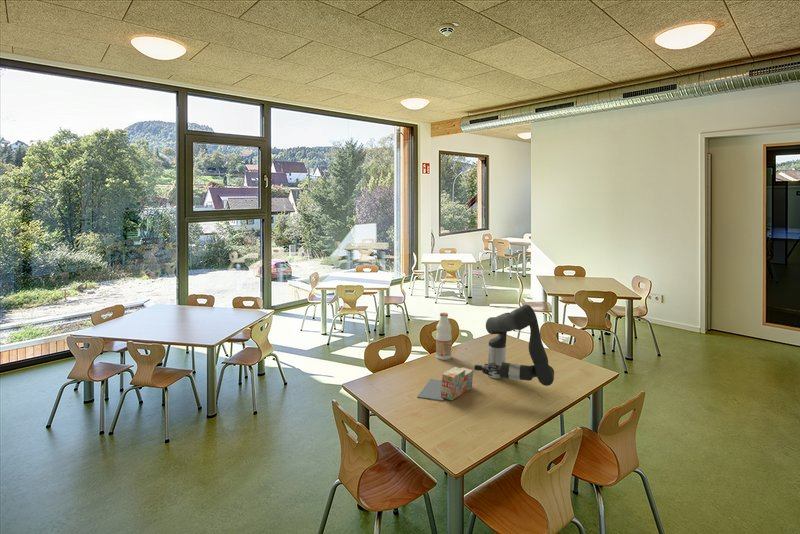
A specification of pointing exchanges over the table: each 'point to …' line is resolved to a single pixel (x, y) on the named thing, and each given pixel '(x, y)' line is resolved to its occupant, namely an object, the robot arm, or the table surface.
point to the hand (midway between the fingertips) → (474, 367)
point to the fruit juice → (443, 338)
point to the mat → (432, 390)
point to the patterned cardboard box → (456, 382)
